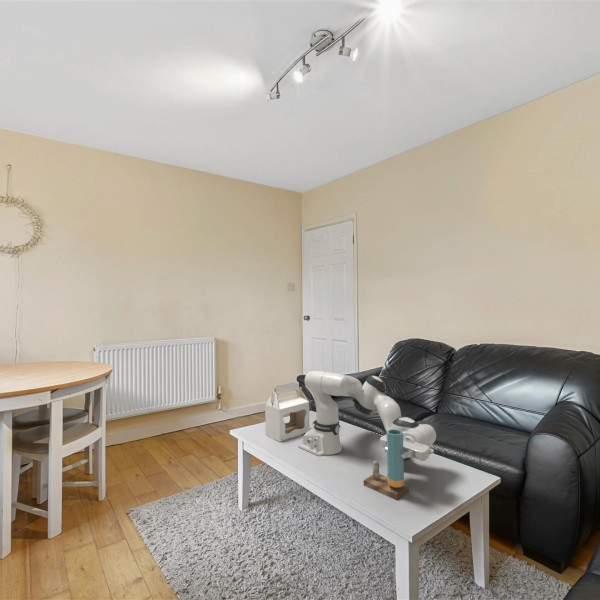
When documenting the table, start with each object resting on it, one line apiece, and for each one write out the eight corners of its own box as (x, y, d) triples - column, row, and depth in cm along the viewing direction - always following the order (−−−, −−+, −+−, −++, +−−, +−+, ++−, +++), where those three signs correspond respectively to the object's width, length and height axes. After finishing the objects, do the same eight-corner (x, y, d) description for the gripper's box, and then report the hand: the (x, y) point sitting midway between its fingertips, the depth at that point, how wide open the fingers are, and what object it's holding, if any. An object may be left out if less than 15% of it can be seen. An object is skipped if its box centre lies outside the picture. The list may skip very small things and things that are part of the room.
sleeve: (385, 483, 138) (384, 432, 138) (393, 478, 142) (392, 428, 142) (398, 488, 134) (397, 436, 134) (406, 483, 138) (405, 432, 138)
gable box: (295, 425, 213) (294, 379, 213) (310, 431, 203) (309, 383, 203) (265, 435, 198) (264, 385, 198) (279, 442, 188) (278, 389, 188)
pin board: (363, 485, 143) (363, 462, 143) (376, 477, 150) (376, 455, 150) (396, 499, 132) (395, 475, 132) (408, 490, 139) (408, 467, 139)
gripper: (436, 458, 139) (418, 470, 130) (390, 443, 154) (372, 453, 144) (435, 442, 139) (418, 453, 130) (390, 429, 154) (372, 438, 144)
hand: (393, 453), depth 137 cm, fingers closed on sleeve, 6 cm apart
